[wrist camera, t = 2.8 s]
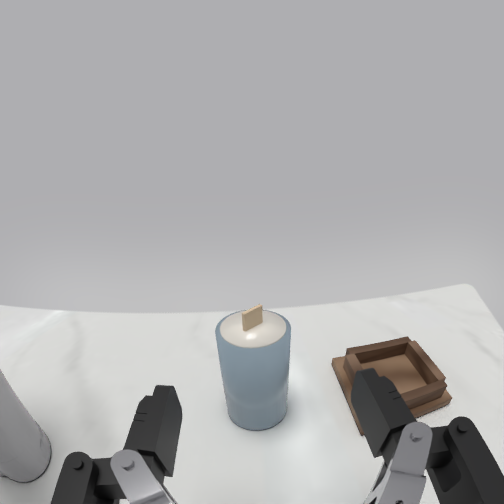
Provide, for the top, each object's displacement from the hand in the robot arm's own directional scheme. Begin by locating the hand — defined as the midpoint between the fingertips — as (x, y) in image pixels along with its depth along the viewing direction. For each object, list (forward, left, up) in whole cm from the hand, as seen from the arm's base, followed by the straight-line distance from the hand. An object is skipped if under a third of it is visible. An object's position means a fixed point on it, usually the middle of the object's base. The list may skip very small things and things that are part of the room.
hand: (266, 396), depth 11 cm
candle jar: (+7, +9, -15) cm, 19 cm away
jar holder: (+19, -1, -15) cm, 25 cm away
